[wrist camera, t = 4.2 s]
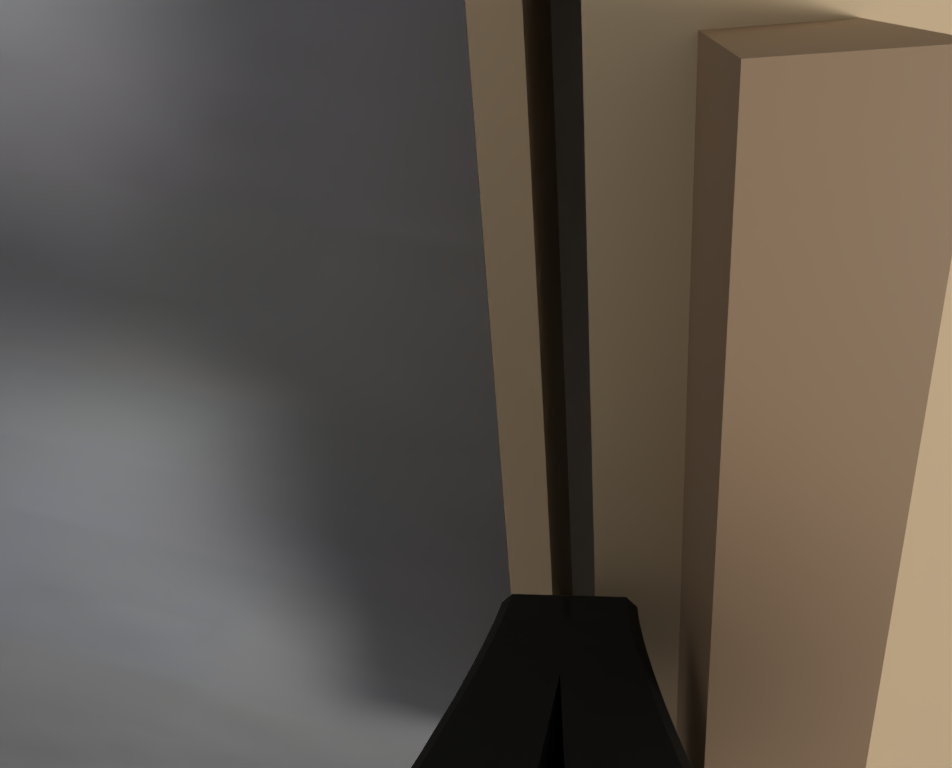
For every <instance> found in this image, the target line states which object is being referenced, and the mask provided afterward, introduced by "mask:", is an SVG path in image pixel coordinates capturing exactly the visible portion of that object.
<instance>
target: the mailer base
mask: <svg viewBox="0 0 952 768" xmlns="http://www.w3.org/2000/svg"><path fill="white" fill-rule="evenodd" d="M465 9H466V22H467V34H468V47H469V60H470V73H471V86H472V99H473V112H474V125H475V138H476V151H477V164H478V176H479V189H480V202H481V215H482V228H483V241H484V254H485V267H486V280H487V293H488V305H489V318H490V331H491V344H492V357H493V370H494V383H495V396H496V409H497V422H498V435H499V447H500V460H501V473H502V486H503V499H504V512H505V525H506V538H507V551H508V564H509V576H510V589H511V595H512V594H536V595H571V596H595V568H594V526H593V483H592V441H591V398H590V356H589V313H588V271H587V228H586V186H585V143H584V101H583V58H582V16H581V0H465Z"/></svg>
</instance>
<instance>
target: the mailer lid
mask: <svg viewBox="0 0 952 768" xmlns="http://www.w3.org/2000/svg"><path fill="white" fill-rule="evenodd" d="M581 16H582V58H583V101H584V143H585V186H586V228H587V271H588V313H589V356H590V398H591V441H592V483H593V526H594V568H595V596H607V597H627V598H628V599H629V600H630V601H631V602H632V603H633V604H635V605H636V606H637V608H638V616H639V622H640V626H641V630H642V635H643V639H644V643H645V646H646V650H647V653H648V656H649V659H650V662H651V666H652V669H653V672H654V675H655V677H656V680H657V683H658V686H659V688H660V691H661V694H662V696H663V699H664V702H665V705H666V707H667V710H668V712H669V715H670V717H671V720H672V722H673V725H674V727H675V729H676V732H677V734H678V736H679V739H680V741H681V743H682V745H683V748H684V750H685V752H686V754H687V757H688V759H689V761H690V763H691V766H692V768H952V0H581Z"/></svg>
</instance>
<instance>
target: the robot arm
mask: <svg viewBox="0 0 952 768" xmlns="http://www.w3.org/2000/svg"><path fill="white" fill-rule="evenodd" d="M411 768H692V766H691V763H690V761H689V759H688V757H687V754H686V752H685V750H684V748H683V745H682V743H681V741H680V739H679V736H678V734H677V732H676V729H675V727H674V725H673V722H672V720H671V717H670V715H669V712H668V710H667V707H666V705H665V702H664V699H663V696H662V694H661V691H660V688H659V686H658V683H657V680H656V677H655V675H654V672H653V669H652V666H651V662H650V659H649V656H648V653H647V650H646V646H645V643H644V639H643V635H642V630H641V626H640V622H639V616H638V608H637V606H636V605H635V604H633V603H632V602H631V601H630V600H629V599H628V598H627V597H607V596H571V595H536V594H512V595H511V596H509V597H508V598H507V599H506V600H505V601H503V602H502V604H501V607H500V609H499V612H498V614H497V616H496V619H495V621H494V623H493V625H492V627H491V629H490V632H489V634H488V636H487V638H486V640H485V642H484V644H483V646H482V648H481V650H480V652H479V654H478V656H477V658H476V659H475V661H474V663H473V665H472V667H471V669H470V671H469V672H468V674H467V676H466V678H465V680H464V681H463V683H462V685H461V687H460V689H459V690H458V692H457V694H456V696H455V697H454V699H453V701H452V702H451V704H450V706H449V707H448V709H447V711H446V712H445V714H444V716H443V717H442V719H441V721H440V722H439V724H438V725H437V727H436V729H435V730H434V732H433V734H432V735H431V737H430V739H429V740H428V742H427V743H426V745H425V747H424V748H423V750H422V752H421V753H420V755H419V757H418V758H417V760H416V761H415V763H414V764H413V766H412V767H411Z"/></svg>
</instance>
